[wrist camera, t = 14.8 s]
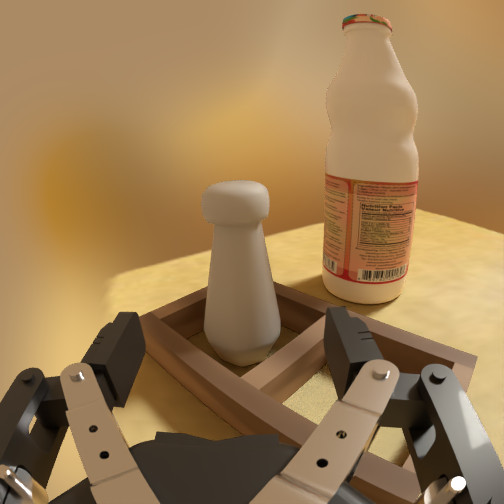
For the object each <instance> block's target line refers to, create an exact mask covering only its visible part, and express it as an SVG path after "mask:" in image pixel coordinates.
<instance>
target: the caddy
mask: <svg viewBox="0 0 504 504" xmlns="http://www.w3.org/2000/svg"><path fill="white" fill-rule="evenodd" d="M273 284H274V289H275V294H276V299H277V304H278V309H279V314H280V320H281V325H283V326H285V327H287V328H289V329H291V330H293V331H295V332H297V333H300V335H298V336H297V337H296V338H294V339H293V340H292V341H290V342H289V343H288V344H286V345H285V346H284V347H282V348H281V349H280V350H278V351H277V352H276V353H274V354H273V355H271V356H270V357H269V358H267V359H266V360H264V361H263V362H262V363H260V364H259V365H257V366H256V367H255V368H253V369H252V370H250V371H249V372H247V373H246V374H245V375H243V376H242V377H239V376H237V375H236V374H234V373H233V372H231V371H230V370H228V369H227V368H226V367H224V366H223V365H221V364H220V363H218V362H217V361H215V360H214V359H213V358H211V357H210V356H208V355H207V354H206V353H204V352H203V351H201V350H200V349H199V348H197V347H196V346H195V345H193V344H192V343H190V342H189V341H188V340H186V339H187V338H189V337H191V336H193V335H195V334H197V333H199V332H200V331H202V330H204V319H205V309H206V299H207V289H208V286H207V287H205V288H203V289H200V290H198V291H196V292H194V293H191V294H189V295H187V296H185V297H182V298H180V299H178V300H176V301H174V302H171V303H169V304H167V305H165V306H162V307H160V308H158V309H156V310H153V311H151V312H149V313H147V314H144V315H142V316H140V317H139V319H140V323H141V327H142V331H143V335H144V339H145V344H146V350H145V351H146V352H147V353H148V354H149V355H150V356H151V357H152V358H153V359H154V360H155V361H156V362H157V363H159V364H160V365H161V366H162V367H163V368H164V369H165V370H166V371H167V372H168V373H169V374H170V375H171V376H173V377H174V378H175V379H176V380H177V381H178V382H179V383H180V384H181V385H183V386H184V387H185V388H186V389H187V390H188V391H189V392H191V393H192V394H193V395H194V396H195V397H196V398H198V399H199V400H200V401H201V402H202V403H204V404H205V405H206V406H207V407H208V408H210V409H211V410H212V411H213V412H215V413H216V414H217V415H218V416H219V417H221V418H222V419H223V420H225V421H226V422H227V423H228V424H230V425H231V426H232V427H234V428H235V429H236V430H237V431H239V432H240V433H241V434H243V435H244V436H245V435H264V434H278V437H279V442H282V443H287V444H291V445H294V446H297V447H299V448H301V447H302V446H303V445H304V444H305V442H306V441H307V440H308V438H309V437H310V436H311V434H312V433H313V432H314V430H315V429H316V428H317V426H318V425H317V424H315V423H313V422H311V421H310V420H308V419H306V418H304V417H303V416H301V415H299V414H298V413H296V412H294V411H293V410H291V409H289V408H288V407H286V406H284V405H283V404H281V403H283V402H284V401H285V400H286V399H287V398H289V397H290V396H291V395H292V394H293V393H294V392H295V391H297V390H298V389H299V388H300V387H301V386H302V385H303V384H305V383H306V382H307V381H308V380H309V379H310V378H311V377H312V376H313V375H315V374H316V373H317V372H318V371H319V370H320V369H321V368H322V367H323V366H324V365H325V364H326V363H327V362H328V361H327V358H326V355H325V351H324V342H323V339H324V328H325V318H326V310H327V308H328V307H339V306H337V305H334V304H331V303H329V302H326V301H323V300H321V299H318V298H315V297H313V296H310V295H308V294H305V293H302V292H300V291H297V290H295V289H292V288H289V287H287V286H284V285H282V284H279V283H276V282H274V281H273ZM347 311H348V313H349V315H350V317H358V318H359V319H361V320H362V321H363V322H365V323H366V325H367V327H368V329H369V331H370V333H371V335H372V337H373V339H374V341H375V342H376V344H377V346H378V348H379V350H380V352H381V354H382V356H383V358H384V360H386V361H389V362H391V363H393V364H394V365H395V366H396V367H397V368H398V370H399V372H401V373H407V374H421V372H422V370H423V368H424V367H426V366H427V365H430V364H441V365H444V366H446V367H448V368H450V369H451V370H452V371H453V372H454V374H455V376H456V377H457V379H458V381H459V383H460V384H461V386H462V388H463V390H464V391H465V393H466V392H467V389H468V386H469V383H470V380H471V377H472V374H473V371H474V367H475V364H476V361H477V356H475V355H472V354H469V353H466V352H463V351H460V350H457V349H455V348H452V347H449V346H446V345H443V344H440V343H438V342H435V341H432V340H429V339H426V338H424V337H421V336H418V335H415V334H413V333H410V332H407V331H404V330H402V329H399V328H396V327H393V326H391V325H388V324H385V323H382V322H380V321H377V320H374V319H372V318H369V317H366V316H363V315H361V314H358V313H355V312H353V311H350V310H347ZM350 485H351V486H353V487H354V488H355V489H357V490H358V491H359V492H361V493H362V494H363V495H365V496H366V497H368V498H369V499H370V500H372V501H373V502H375V503H376V504H414V502H415V501H416V499H417V498H418V496H419V494H420V492H421V489H420V486H419V482H418V479H417V475H416V472H415V468H414V465H413V462H412V458H411V455H410V454H409V456H408V458H407V459H406V461H405V463H404V464H403V466H402V467H400V466H397V465H395V464H393V463H391V462H389V461H386V460H384V459H382V458H380V457H378V456H376V455H374V454H372V453H370V452H367V454H366V455H365V457H364V459H363V461H362V463H361V465H360V467H359V468H358V470H357V472H356V474H355V476H354V478H353V479H352V481H351V483H350Z"/></svg>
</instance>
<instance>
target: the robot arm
mask: <svg viewBox="0 0 504 504" xmlns="http://www.w3.org/2000/svg"><path fill="white" fill-rule="evenodd" d="M323 342H324V351H325V355H326V358H327V361H328V365H329V368H330V372H331V375H332V378H333V382H334V385H335V389H336V392H337V396H338V399H337V400H336V401H335V403H334V404H333V405H332V407H331V408H330V410H329V411H328V412H327V414H326V415H325V417H324V418H323V420H322V421H321V422H320V424H319V425H318V426H317V428H316V429H315V430H314V432H313V433H312V434H311V436H310V437H309V438H308V440H307V441H306V442H305V444H304V445H303V446H302V447H301V448H299V447H297V446H294V445H291V444H287V443H282V442H279V437H278V434H264V435H245V436H240V437H236V438H231V439H226V440H220V441H211V440H207V439H203V438H199V437H195V436H192V435H188V434H182V433H168V432H156V436H155V440H150V441H145V442H142V443H139V444H136V445H134V446H132V447H129V445H128V443H127V441H126V439H125V437H124V435H123V433H122V431H121V429H120V427H119V425H118V423H117V421H116V419H115V417H114V415H113V413H112V410H113V407H122V408H124V406H125V403H126V401H127V398H128V395H129V393H130V390H131V388H132V385H133V383H134V380H135V377H136V375H137V372H138V370H139V367H140V365H141V362H142V360H143V357H144V355H145V350H146V344H145V339H144V335H143V331H142V327H141V323H140V319H139V316H138V314H137V313H136V312H119V313H118V315H117V317H116V318H115V320H114V321H113V323H108V324H107V325H106V326H104V327H103V328H102V329H101V330H100V332H99V333H98V335H97V338H95V340H94V341H93V344H92V345H91V346H90V348H89V349H88V351H87V352H86V354H85V356H84V357H83V359H82V361H81V362H80V363H75V364H72V365H69V366H68V367H66V368H65V369H64V370H63V371H62V373H61V375H60V376H57V377H48V378H45V376H44V374H43V372H42V371H41V370H40V369H38V368H29V369H26V370H24V371H22V372H21V373H20V374H18V376H17V377H16V379H15V380H14V382H13V383H12V385H11V386H10V388H9V390H8V391H7V393H6V394H5V396H4V398H3V399H2V401H1V403H0V504H376V503H375V502H373V501H372V500H370V499H369V498H368V497H366V496H365V495H363V494H362V493H361V492H359V491H358V490H357V489H355V488H354V487H353V486H351V485H350V483H351V481H352V479H353V478H354V476H355V474H356V472H357V470H358V468H359V467H360V465H361V463H362V461H363V459H364V457H365V455H366V454H367V452H368V450H369V448H370V446H371V444H372V442H373V441H374V439H375V437H376V435H377V433H378V431H379V429H380V427H381V426H382V427H396V428H402V430H403V433H404V436H405V439H406V442H407V445H408V449H409V452H410V455H411V458H412V462H413V465H414V468H415V472H416V475H417V479H418V482H419V486H420V489H421V493H422V494H421V495H420V497H419V498H418V499H417V500H416V501H415V502H414V504H504V469H503V467H502V465H501V463H500V460H499V458H498V456H497V454H496V452H495V450H494V447H493V445H492V443H491V441H490V439H489V437H488V435H487V433H486V431H485V429H484V427H483V425H482V423H481V421H480V419H479V417H478V415H477V414H476V412H475V410H474V408H473V406H472V404H471V402H470V401H469V399H468V397H467V395H466V393H465V391H464V390H463V388H462V386H461V384H460V383H459V381H458V379H457V377H456V376H455V374H454V372H453V371H452V370H451V369H450V368H448V367H446V366H444V365H441V364H430V365H427V366H426V367H424V368H423V370H422V372H421V374H407V373H401V372H399V370H398V368H397V367H396V366H395V365H394V364H393V363H391V362H389V361H386V360H384V358H383V356H382V354H381V352H380V350H379V348H378V346H377V344H376V342H375V341H374V339H373V337H372V335H371V333H370V331H369V329H368V327H367V325H366V323H365V322H363V321H362V320H361V319H359V318H358V317H350V315H349V313H348V311H347V309H346V307H345V306H341V307H328V308H327V310H326V318H325V328H324V339H323ZM34 415H35V416H36V418H37V420H36V422H35V424H34V426H33V428H32V430H31V433H30V434H29V424H30V422H31V420H32V418H33V416H34ZM69 426H70V429H71V432H72V435H73V438H74V441H75V444H76V447H77V449H78V452H79V455H80V457H81V461H82V463H83V466H84V469H85V471H86V474H87V476H88V477H87V478H86V479H84V480H82V481H81V482H79V483H78V484H76V485H75V486H73V487H72V488H70V489H69V490H67V491H66V492H64V493H63V494H61V495H60V496H58V497H56V498H55V499H53V500H52V501H50V502H49V503H48V494H47V492H46V490H45V489H46V486H47V483H48V480H49V477H50V475H51V472H52V469H53V466H54V463H55V461H56V458H57V455H58V452H59V450H60V447H61V444H62V442H63V439H64V437H65V434H66V432H67V429H68V427H69Z"/></svg>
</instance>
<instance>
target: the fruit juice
mask: <svg viewBox="0 0 504 504" xmlns="http://www.w3.org/2000/svg"><path fill="white" fill-rule="evenodd" d="M342 28H343V31H344V35H345V36H346V37H347V43H346V47H345V51H344V55H343V58H342V62H341V65H340V67H339V71H338V73H337V74H336V76H335V78H334V79H333V81H332V82H331V84H330V85H329V87H328V90H327V93H326V109H327V113H328V117H329V120H330V123H331V136H330V139H329V140H328V143H327V147H326V158H325V217H324V245H323V266H322V277H323V283H324V285H325V287H326V289H327V290H328V291H329V292H331V293H332V294H333V295H335V296H337V297H339V298H341V299H344V300H347V301H350V302H354V303H361V304H379V303H384V302H388V301H391V300H393V299H395V298H396V297H398V296H399V295H400V294H401V292H402V290H403V288H404V285H405V282H406V276H407V270H408V264H409V258H410V251H411V244H412V236H413V228H414V219H415V210H416V199H417V186H418V173H419V169H418V168H419V164H418V163H419V162H418V151H417V148H416V145H415V142H414V137H413V134H414V128H415V124H416V120H417V116H418V102H417V98H416V95H415V92H414V91H413V89H412V88H411V86H410V84H409V83H408V81H407V79H406V77H405V75H404V73H403V71H402V68H401V67H400V64H399V62H398V59H397V57H396V54H395V52H394V50H393V48H392V45H391V43H390V38H391V37H392V34H391V33H392V28H391V24H390V22H389V21H388V20H387V19H386V18H383V17H381V16H377V15H370V14H357V15H351V16H348V17H346V18H344V20H343V25H342Z"/></svg>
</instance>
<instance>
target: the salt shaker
mask: <svg viewBox="0 0 504 504" xmlns="http://www.w3.org/2000/svg"><path fill="white" fill-rule="evenodd" d="M201 206H202V213H203V216H204V218H205V220H206V221H207V222H208V223H211V224H214V234H213V244H212V253H211V262H210V271H209V280H208V289H207V299H206V309H205V319H204V331H205V334H206V336H207V339H208V341H209V344H210V345H211V347H212V348H213V349H214V350H215V352H216V353H217V354H218V356H219V357H220V358H221V360H224V361H226V362H229V363H232V364H234V365H237V366H240V367H245V366H248V365H252V364H255V363H259V362H262V361H264V360H265V359H266V356H267V354H268V352H269V351H270V349H271V348H272V346H273V345H274V343H275V342H276V341H277V339H278V338H279V336H280V330H281V320H280V314H279V309H278V304H277V299H276V294H275V289H274V284H273V279H272V274H271V269H270V264H269V259H268V254H267V249H266V244H265V239H264V234H263V229H262V224H261V221H262V220H264V219H266V218H267V216H268V213H269V195H268V190H267V189H266V188H265V187H264V186H263V185H262V184H260V183H257V182H254V181H247V180H234V181H225V182H220V183H217V184H214V185H211V186H209V187H208V188H207V189H206V190H205V191H204V193H203V194H202V202H201Z"/></svg>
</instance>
